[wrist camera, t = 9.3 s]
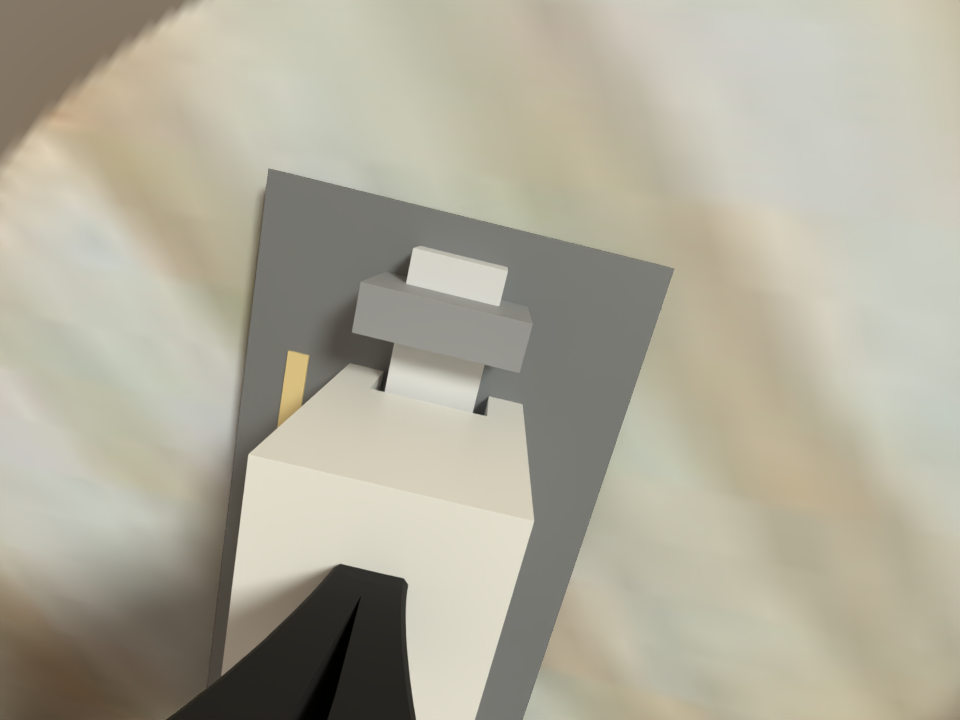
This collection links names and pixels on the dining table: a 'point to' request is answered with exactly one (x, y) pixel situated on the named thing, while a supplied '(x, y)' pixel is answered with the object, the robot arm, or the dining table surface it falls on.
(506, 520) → the block
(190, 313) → the dining table surface
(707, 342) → the dining table surface
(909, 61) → the dining table surface
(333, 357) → the rail
